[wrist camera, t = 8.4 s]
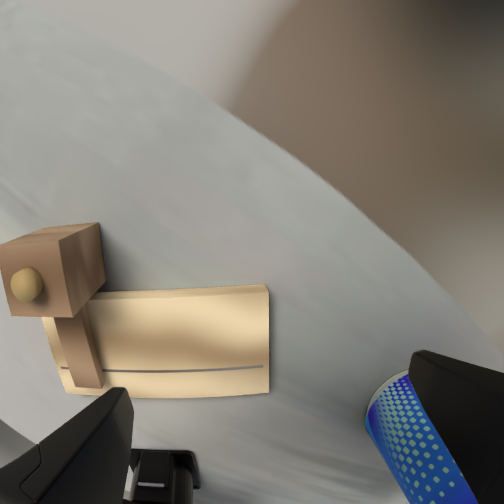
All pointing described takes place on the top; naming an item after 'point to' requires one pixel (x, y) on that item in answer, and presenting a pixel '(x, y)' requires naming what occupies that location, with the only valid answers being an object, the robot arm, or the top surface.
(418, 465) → the beer can
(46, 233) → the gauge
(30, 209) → the top surface
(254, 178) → the top surface
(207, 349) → the board
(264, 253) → the top surface
